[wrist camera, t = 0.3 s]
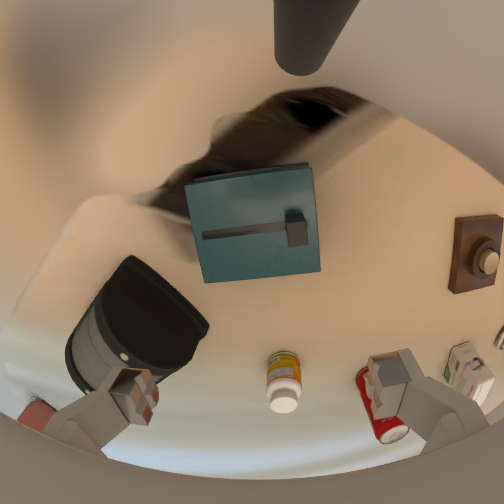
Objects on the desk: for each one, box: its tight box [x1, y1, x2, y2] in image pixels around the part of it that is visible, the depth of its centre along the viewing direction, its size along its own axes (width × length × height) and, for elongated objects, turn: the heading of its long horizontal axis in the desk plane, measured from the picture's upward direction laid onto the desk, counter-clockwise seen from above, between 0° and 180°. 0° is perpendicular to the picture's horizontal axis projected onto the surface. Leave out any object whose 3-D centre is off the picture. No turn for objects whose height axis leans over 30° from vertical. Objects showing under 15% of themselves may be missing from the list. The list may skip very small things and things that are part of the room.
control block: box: [448, 215, 504, 294], centre depth 34 cm, size 12×10×4 cm
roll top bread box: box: [65, 256, 209, 395], centre depth 38 cm, size 17×14×20 cm
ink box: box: [444, 342, 495, 406], centre depth 38 cm, size 8×5×12 cm, turn 11°
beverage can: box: [356, 367, 410, 444], centre depth 38 cm, size 6×6×15 cm
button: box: [478, 249, 499, 274], centre depth 32 cm, size 4×4×2 cm
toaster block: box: [184, 163, 321, 283], centre depth 34 cm, size 13×15×6 cm
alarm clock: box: [17, 401, 56, 433], centre depth 55 cm, size 18×11×19 cm, turn 52°
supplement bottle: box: [266, 352, 302, 413], centre depth 41 cm, size 5×5×10 cm
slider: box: [285, 213, 308, 247], centre depth 29 cm, size 2×2×4 cm
